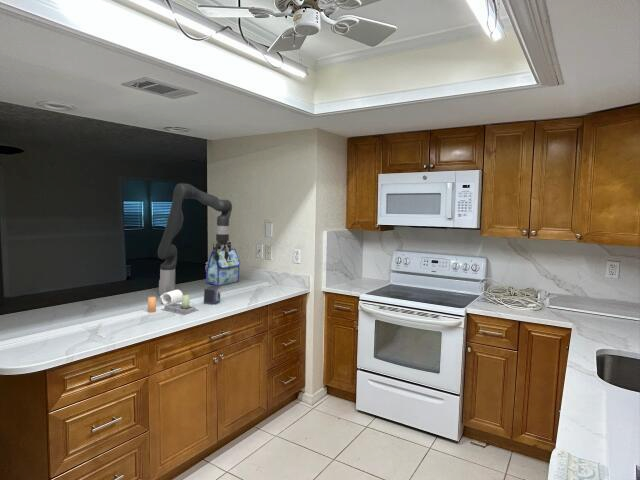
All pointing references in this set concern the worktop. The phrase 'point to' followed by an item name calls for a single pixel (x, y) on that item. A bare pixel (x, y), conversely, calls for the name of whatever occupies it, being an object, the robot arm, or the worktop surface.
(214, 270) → the lunch bag
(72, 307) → the worktop surface
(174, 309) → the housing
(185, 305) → the jaw peg olive
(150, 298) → the jaw peg orange
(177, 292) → the mug
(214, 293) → the small box
